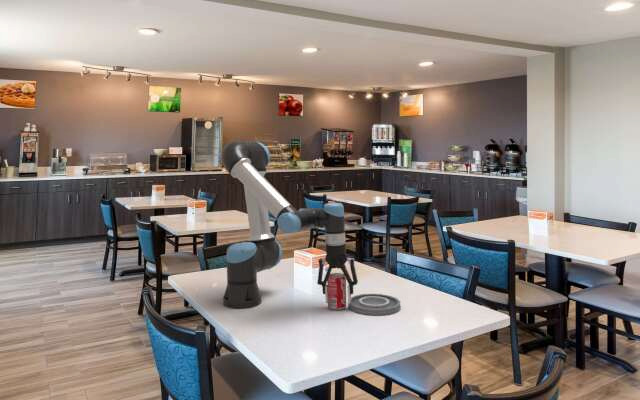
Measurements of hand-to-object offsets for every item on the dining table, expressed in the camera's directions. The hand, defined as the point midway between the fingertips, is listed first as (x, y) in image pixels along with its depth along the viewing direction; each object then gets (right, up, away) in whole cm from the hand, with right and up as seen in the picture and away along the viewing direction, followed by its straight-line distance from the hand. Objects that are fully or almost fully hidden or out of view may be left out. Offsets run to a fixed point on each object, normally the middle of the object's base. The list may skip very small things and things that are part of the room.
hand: (338, 302), depth 181 cm
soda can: (-1, -2, 0) cm, 3 cm away
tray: (+14, -2, +1) cm, 14 cm away
